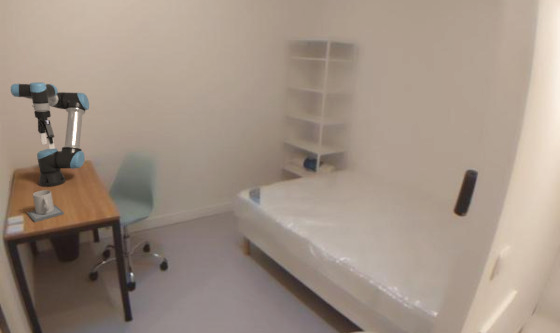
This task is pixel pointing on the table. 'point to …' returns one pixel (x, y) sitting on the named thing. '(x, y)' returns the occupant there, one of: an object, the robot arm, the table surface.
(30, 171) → the table surface
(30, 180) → the table surface
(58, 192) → the table surface
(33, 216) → the coaster
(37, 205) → the mug
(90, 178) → the table surface
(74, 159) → the robot arm
